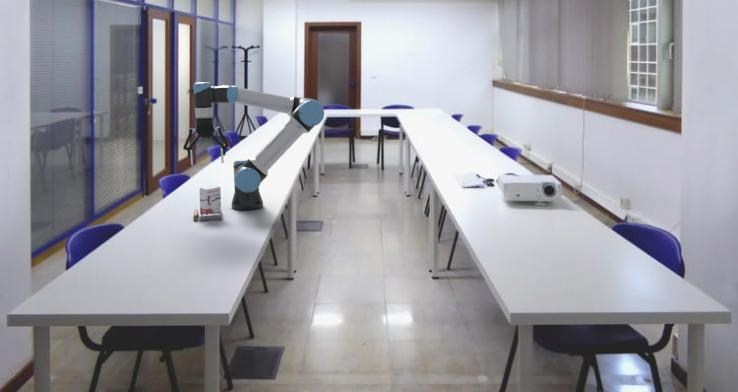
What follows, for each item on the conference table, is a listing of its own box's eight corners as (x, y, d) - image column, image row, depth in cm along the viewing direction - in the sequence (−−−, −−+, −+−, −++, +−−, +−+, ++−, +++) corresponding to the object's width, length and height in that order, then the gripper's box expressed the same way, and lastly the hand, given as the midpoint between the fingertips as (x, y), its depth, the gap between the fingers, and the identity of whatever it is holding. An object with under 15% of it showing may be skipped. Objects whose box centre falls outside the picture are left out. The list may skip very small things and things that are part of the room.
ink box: (206, 215, 318) (205, 189, 316) (199, 213, 322) (198, 187, 319) (222, 211, 325) (220, 186, 323) (215, 210, 328) (213, 185, 326)
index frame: (221, 213, 331) (221, 209, 331) (221, 219, 318) (221, 215, 318) (200, 214, 329) (200, 210, 329) (199, 221, 316) (199, 216, 316)
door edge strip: (198, 214, 328) (198, 209, 328) (197, 220, 317) (196, 215, 316) (195, 214, 328) (194, 209, 328) (193, 220, 317) (193, 215, 316)
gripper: (175, 119, 312) (179, 166, 316) (232, 116, 318) (235, 163, 323) (175, 117, 319) (179, 164, 323) (231, 115, 325) (234, 160, 330)
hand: (207, 163), depth 323 cm, fingers open, 13 cm apart
